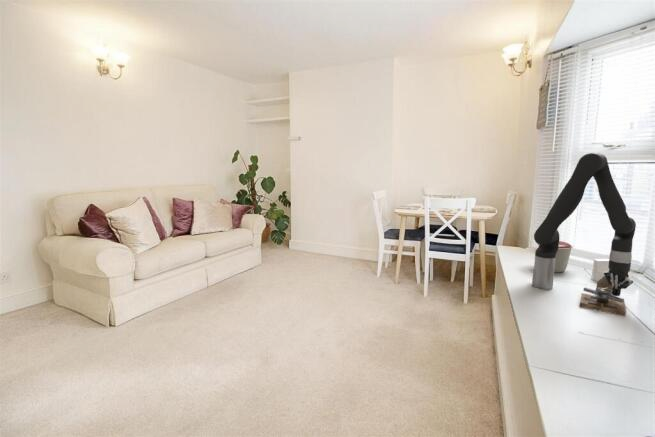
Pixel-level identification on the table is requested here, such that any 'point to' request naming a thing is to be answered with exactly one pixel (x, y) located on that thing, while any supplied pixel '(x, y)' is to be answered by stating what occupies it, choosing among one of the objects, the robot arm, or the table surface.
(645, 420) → the table surface
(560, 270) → the canister
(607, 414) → the table surface
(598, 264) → the base with upright slab
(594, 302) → the stand
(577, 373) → the table surface
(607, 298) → the capstan
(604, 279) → the vase
